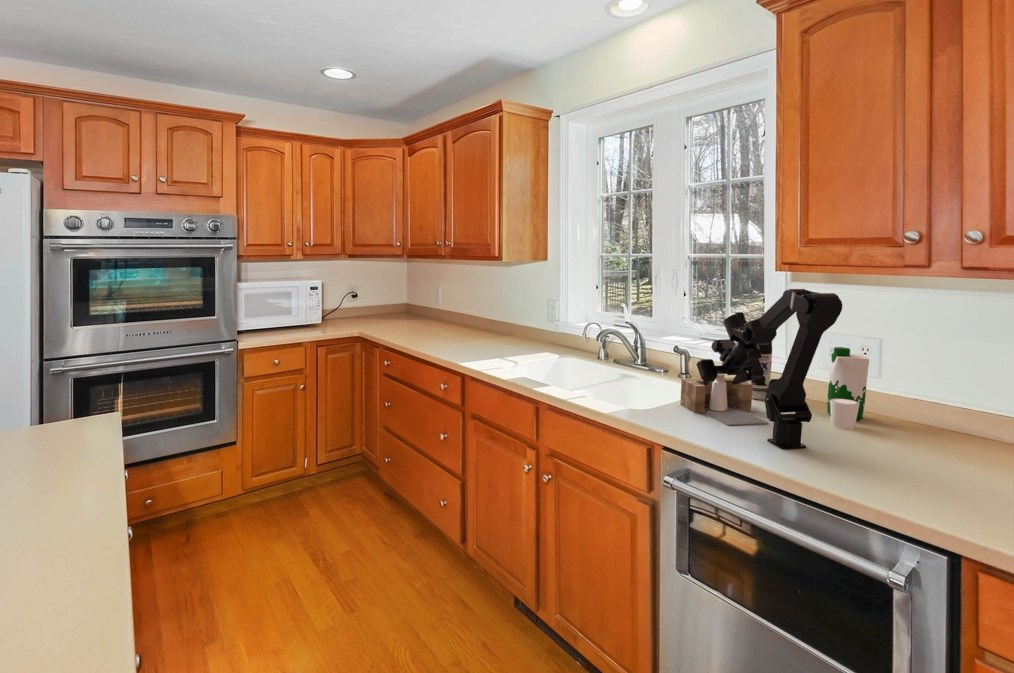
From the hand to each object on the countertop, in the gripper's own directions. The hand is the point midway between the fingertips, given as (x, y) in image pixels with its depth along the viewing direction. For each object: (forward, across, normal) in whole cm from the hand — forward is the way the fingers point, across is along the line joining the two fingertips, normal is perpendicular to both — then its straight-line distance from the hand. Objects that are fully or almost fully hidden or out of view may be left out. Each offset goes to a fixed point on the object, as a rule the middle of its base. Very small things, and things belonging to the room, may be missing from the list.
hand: (718, 384), depth 172 cm
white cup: (-10, -25, +21) cm, 34 cm away
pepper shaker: (+5, 0, +6) cm, 8 cm away
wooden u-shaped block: (+6, 0, +4) cm, 8 cm away
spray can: (+13, -20, -2) cm, 24 cm away
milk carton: (-4, -32, +15) cm, 36 cm away
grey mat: (-2, 0, +13) cm, 13 cm away
